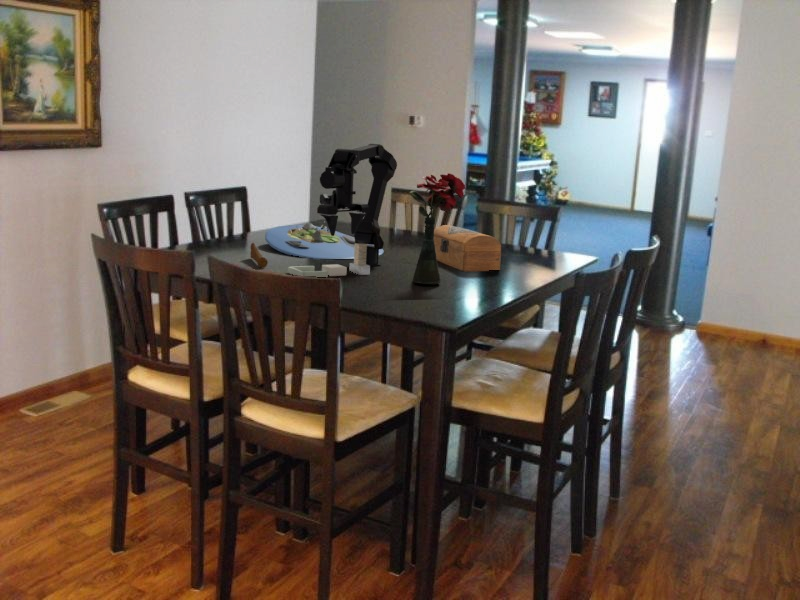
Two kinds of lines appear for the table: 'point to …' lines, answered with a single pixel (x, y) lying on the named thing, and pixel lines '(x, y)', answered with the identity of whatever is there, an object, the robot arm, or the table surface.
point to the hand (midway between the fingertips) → (342, 234)
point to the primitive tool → (258, 256)
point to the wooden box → (466, 249)
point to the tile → (335, 270)
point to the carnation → (446, 201)
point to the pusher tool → (360, 260)
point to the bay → (306, 271)
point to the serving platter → (311, 242)
